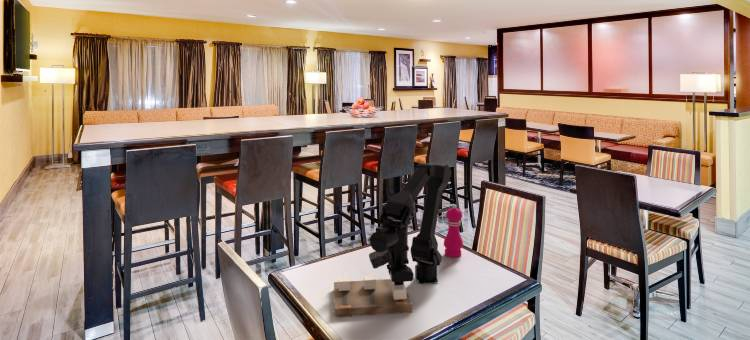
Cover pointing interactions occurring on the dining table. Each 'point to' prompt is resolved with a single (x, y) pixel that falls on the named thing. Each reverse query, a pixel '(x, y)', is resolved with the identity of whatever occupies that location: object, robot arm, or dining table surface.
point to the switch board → (369, 300)
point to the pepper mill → (453, 233)
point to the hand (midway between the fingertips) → (397, 290)
